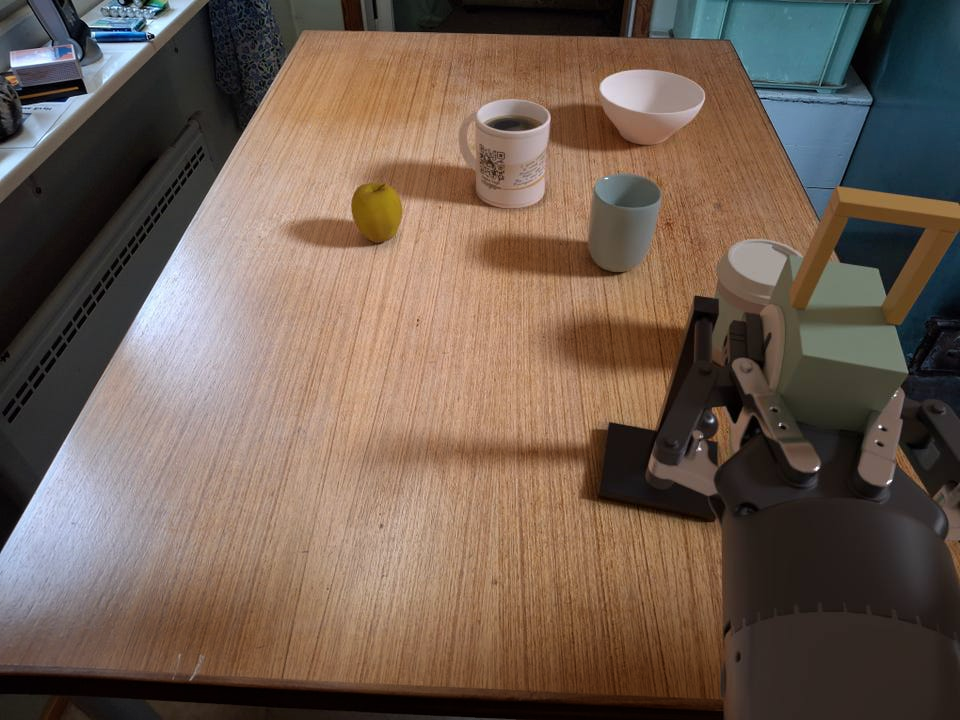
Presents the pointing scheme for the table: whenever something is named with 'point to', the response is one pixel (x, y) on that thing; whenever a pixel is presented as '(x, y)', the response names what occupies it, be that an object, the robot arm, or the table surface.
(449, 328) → the table surface
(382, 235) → the apple
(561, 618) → the table surface
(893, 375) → the green box with handle
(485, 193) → the mug
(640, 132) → the bowl
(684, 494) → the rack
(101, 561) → the table surface
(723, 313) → the coffee cup
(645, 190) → the cup
